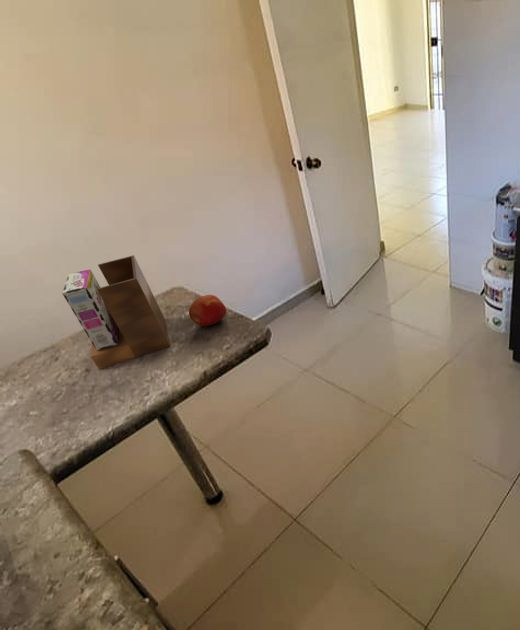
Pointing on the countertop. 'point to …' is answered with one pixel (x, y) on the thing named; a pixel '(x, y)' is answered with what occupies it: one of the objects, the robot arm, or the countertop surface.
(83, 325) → the candy bar box
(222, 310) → the apple
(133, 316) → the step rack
